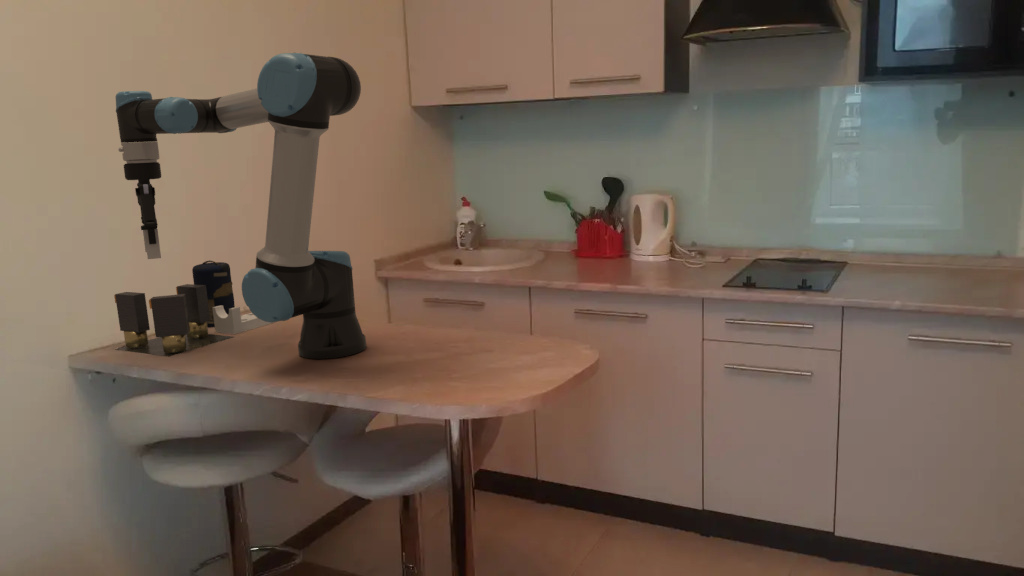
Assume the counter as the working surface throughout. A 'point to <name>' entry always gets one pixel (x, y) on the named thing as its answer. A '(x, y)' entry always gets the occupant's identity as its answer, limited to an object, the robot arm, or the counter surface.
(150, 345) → the level plate
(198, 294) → the knob right
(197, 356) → the counter surface
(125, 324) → the brass knob with block
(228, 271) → the canister
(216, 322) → the bracket
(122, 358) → the counter surface
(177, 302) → the dark grey block
